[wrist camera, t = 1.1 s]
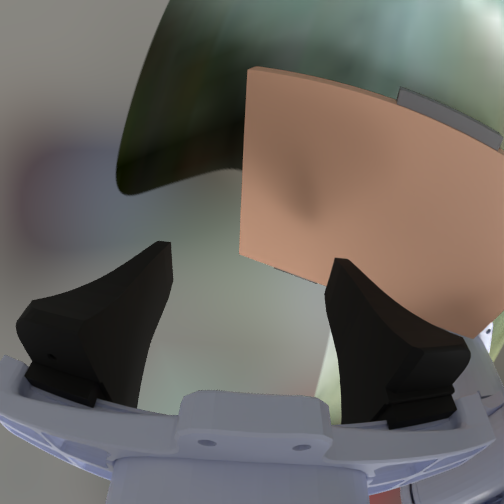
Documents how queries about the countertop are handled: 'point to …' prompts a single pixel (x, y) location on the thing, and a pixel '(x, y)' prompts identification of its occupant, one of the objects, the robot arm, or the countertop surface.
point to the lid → (375, 194)
